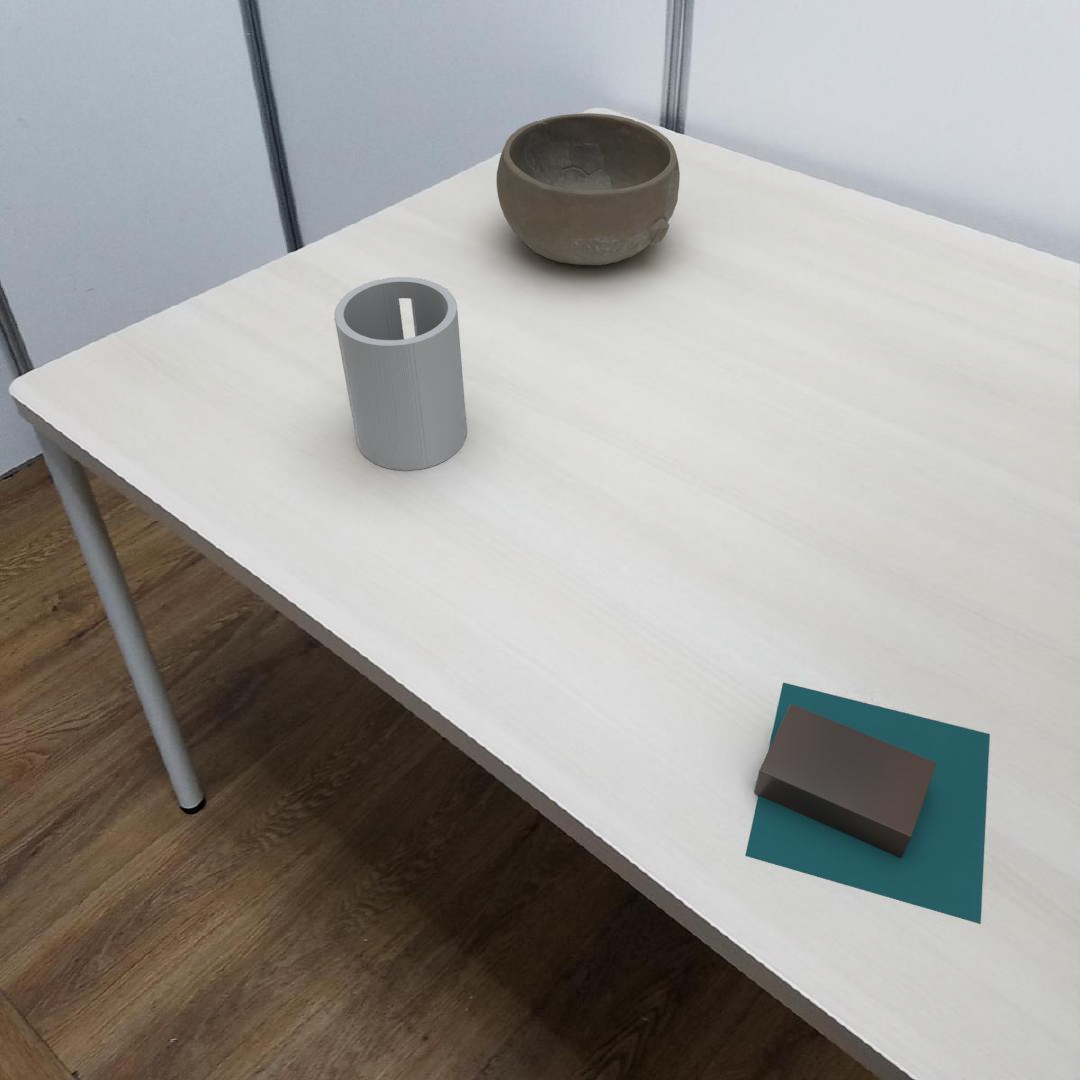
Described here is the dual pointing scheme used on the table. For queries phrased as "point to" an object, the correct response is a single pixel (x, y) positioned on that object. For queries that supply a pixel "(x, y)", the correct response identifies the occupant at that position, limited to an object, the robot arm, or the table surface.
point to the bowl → (588, 187)
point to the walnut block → (845, 779)
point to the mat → (941, 830)
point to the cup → (403, 372)
